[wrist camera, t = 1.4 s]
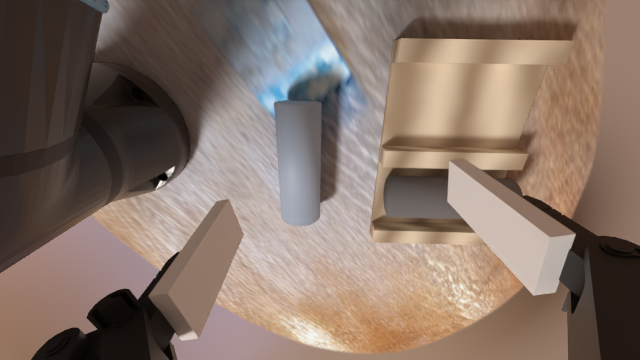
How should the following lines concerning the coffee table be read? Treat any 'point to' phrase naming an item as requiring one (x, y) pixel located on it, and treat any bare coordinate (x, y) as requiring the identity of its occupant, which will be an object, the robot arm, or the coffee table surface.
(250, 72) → the coffee table surface
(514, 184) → the charcoal rod
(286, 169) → the gray dowel
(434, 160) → the slot rack
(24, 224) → the robot arm
